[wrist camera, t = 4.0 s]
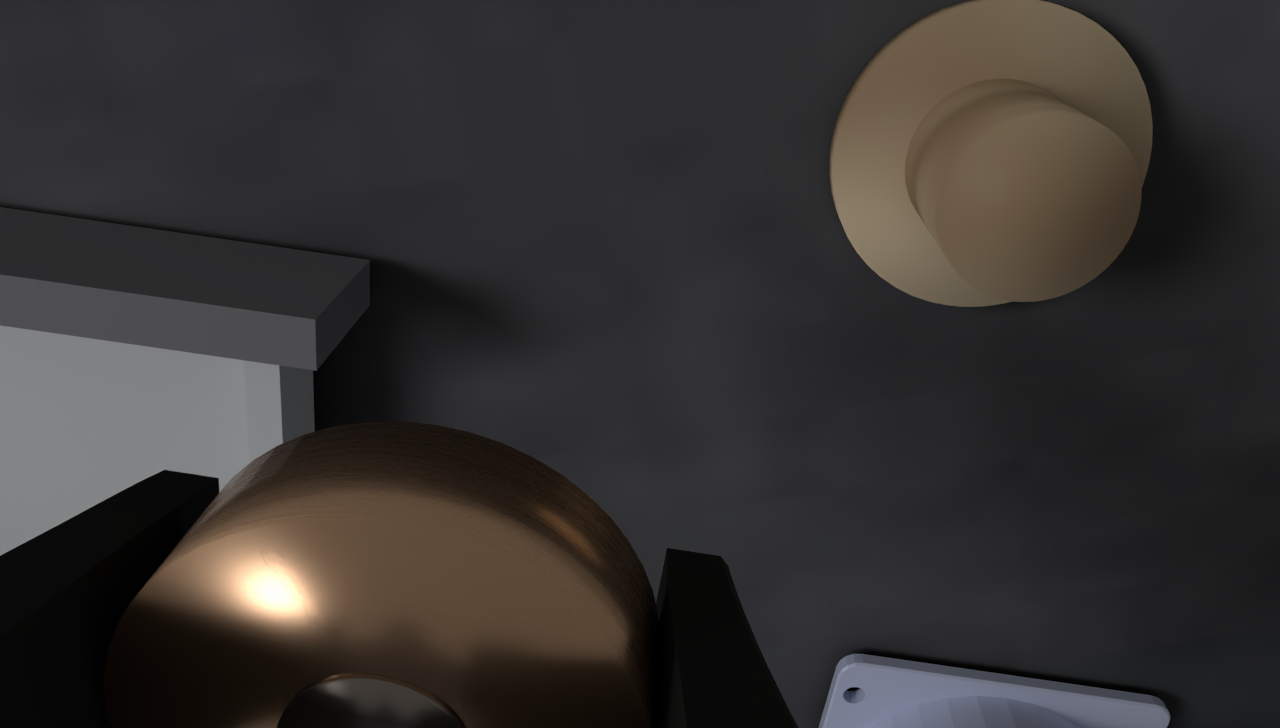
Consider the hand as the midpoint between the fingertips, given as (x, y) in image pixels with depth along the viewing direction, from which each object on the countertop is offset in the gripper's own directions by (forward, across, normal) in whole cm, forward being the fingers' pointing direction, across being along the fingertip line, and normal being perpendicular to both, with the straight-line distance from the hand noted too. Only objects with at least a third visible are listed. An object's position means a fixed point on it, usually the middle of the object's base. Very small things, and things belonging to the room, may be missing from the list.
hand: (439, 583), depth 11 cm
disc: (-1, 0, 0) cm, 1 cm away
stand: (+10, -8, -4) cm, 13 cm away
